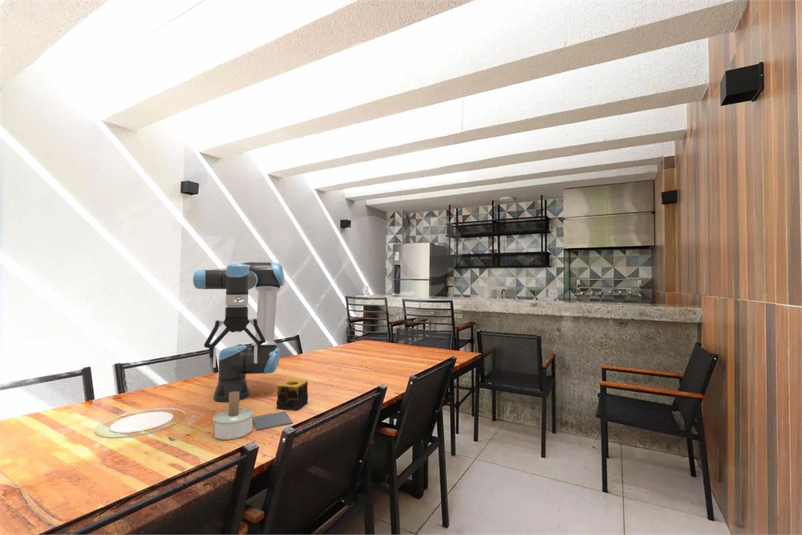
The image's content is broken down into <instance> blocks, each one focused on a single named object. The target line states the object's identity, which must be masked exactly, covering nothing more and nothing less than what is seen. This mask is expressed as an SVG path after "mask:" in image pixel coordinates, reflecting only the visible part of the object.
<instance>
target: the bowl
mask: <svg viewBox="0 0 802 535" xmlns="http://www.w3.org/2000/svg"><path fill="white" fill-rule="evenodd" d="M252 417H253V416H252ZM252 417H251V418H250V419H248V420H246V421H243V422H239V423H235V424H218V423H215V422H214V421H213V422H214V425H213V426H214V427H213V431H214V432H213V434H214V435H213V436H214V438H215V439H218V440H225V441H227V440H228V441H229V440H230V441H231V440H235V439H240V438H241V437H242V438H243V437H245V436H247V435H248V434H250V433H252V431H253V421H252Z"/></svg>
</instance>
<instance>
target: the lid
mask: <svg viewBox="0 0 802 535" xmlns="http://www.w3.org/2000/svg"><path fill="white" fill-rule="evenodd" d="M251 417H254V411H253V410H252V409H250V408H243V407H241V408H240V400H239V391H232V392H229V402H228V409H226V410H223V411H220V412H217V413H216V414H215V415H213V417H212V419H213V422H215V423H218V424H235V423H239V422H243V421H246V420H248V419H250V418H251Z"/></svg>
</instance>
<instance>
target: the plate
mask: <svg viewBox="0 0 802 535" xmlns="http://www.w3.org/2000/svg"><path fill="white" fill-rule="evenodd" d="M154 410H155V411H154ZM156 410H175V411H179V412H182V413H183V414H184V416H183V418H181V419H180V420H179V421H177V422H175V423H173V424H170V425H168V426H165V427H163V428H160V429H158V430H154V431H149V430H153V429H155V428H156V429H157V428H158V427H161V426H164V425H166V424H168V423H169V422H171V421H172V420H173V419H174V415H173V413H171V412H167V411H156ZM147 411H148V412H147ZM149 411H150V412H149ZM140 412H141V413H140ZM135 413H138V414H135ZM127 414H128V415H129V416H127ZM130 414H131V415H130ZM133 414H134V415H133ZM120 416H121V417H123V416H125V417H124V418H121V419H118V420H117V421H115V422H113V423H112V424H110V426H109V428H110V429H109V431H110V432H112V433H115V432H116V433H117V434H131V433H133V432H134V433H139V431H140V432H144V433H140V434H134V435H127V436H103V435H101V434H98V433H96V434H95V435H96V436H97V437H100V436H101V437H100V438H104V437H106V438H105V439H126V438H125V437H127V438H134V437H140V436H139V435H141V436H145V435H144V434H146V435H149V434H148V433H150V434H152V433H153V432H154V433H157V432H160V431H163V430H166V429H169V428H171V427H173V426H175V425H177V424H179V423H180V422H182V421H183V420H184V418H185V416H186V412H185V411H184V410H182V409H181V408H176V407H175V408H174V407H157V408H147V409H141V410H134V411H131V412H127V413H123V414H120V415H118V416H114V417H112V418H109V419H107V420H105V421H103V422H102V423H100V424H98V425H97V426H96V427H95V428H94V431H95V430H97V429H98V428H99V427H100V426H102V425H103V423H104V424H105V422H106V423H107V421H108V422H110V421H112V420H115V419H117V417H118V418H120ZM114 418H115V419H114ZM111 419H112V420H111ZM109 420H110V421H109ZM101 424H102V425H101ZM98 426H99V427H98ZM97 427H98V428H97ZM96 428H97V429H96ZM152 428H153V429H152ZM148 429H149V430H148ZM144 430H145V431H149V432H145V431H144ZM154 433H153V434H154Z"/></svg>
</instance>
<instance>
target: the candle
mask: <svg viewBox="0 0 802 535" xmlns="http://www.w3.org/2000/svg"><path fill="white" fill-rule="evenodd" d="M308 384H309V381H308V380H297V379H287V380H286V381H283V382H281V383H280V384H278V385H277V386H276V390H277V393H276V396H277V398H276V402H275V403H276V410H285V411H289V410H290V411H299V410H300V409H301V408H303V407H305V406H306V405H307V404H308V399H309V396H308V395H309V393H308V390H309V389H308Z"/></svg>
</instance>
